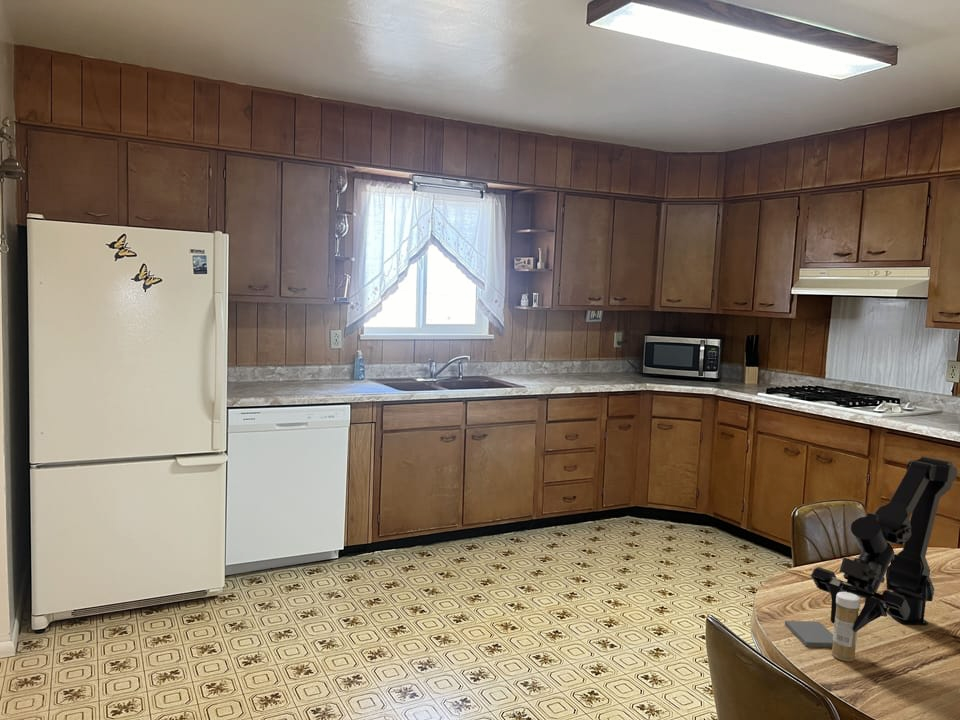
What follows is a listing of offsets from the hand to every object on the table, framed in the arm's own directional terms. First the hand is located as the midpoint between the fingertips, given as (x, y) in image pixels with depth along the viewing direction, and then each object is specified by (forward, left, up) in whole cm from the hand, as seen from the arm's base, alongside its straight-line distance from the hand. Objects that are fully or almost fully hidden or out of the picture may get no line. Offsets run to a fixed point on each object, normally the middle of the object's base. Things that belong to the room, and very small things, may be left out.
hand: (842, 626), depth 150 cm
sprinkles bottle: (-1, -1, -7) cm, 7 cm away
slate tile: (+1, -10, -7) cm, 12 cm away
